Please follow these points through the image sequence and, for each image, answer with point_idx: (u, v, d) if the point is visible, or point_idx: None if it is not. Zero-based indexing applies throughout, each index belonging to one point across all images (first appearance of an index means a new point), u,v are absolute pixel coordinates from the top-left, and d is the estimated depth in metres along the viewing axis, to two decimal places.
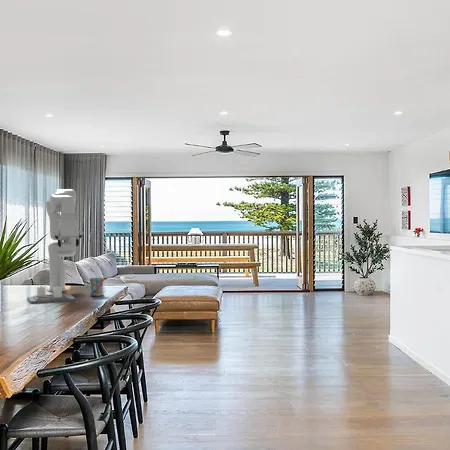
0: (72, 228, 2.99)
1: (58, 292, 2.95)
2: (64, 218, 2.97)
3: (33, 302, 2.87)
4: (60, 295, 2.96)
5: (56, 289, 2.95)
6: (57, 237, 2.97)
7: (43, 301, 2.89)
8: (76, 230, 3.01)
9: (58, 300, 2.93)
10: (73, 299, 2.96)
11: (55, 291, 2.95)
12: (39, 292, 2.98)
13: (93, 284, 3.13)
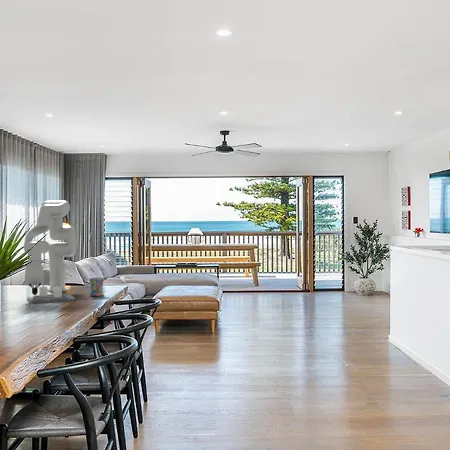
0: (38, 274, 2.98)
1: (58, 292, 2.95)
2: (30, 264, 2.96)
3: (33, 302, 2.87)
4: (60, 295, 2.96)
5: (56, 289, 2.95)
6: None
7: (43, 301, 2.89)
8: (42, 276, 2.99)
9: (58, 300, 2.93)
10: (73, 299, 2.96)
11: (55, 291, 2.95)
12: (41, 292, 2.99)
13: (93, 284, 3.13)
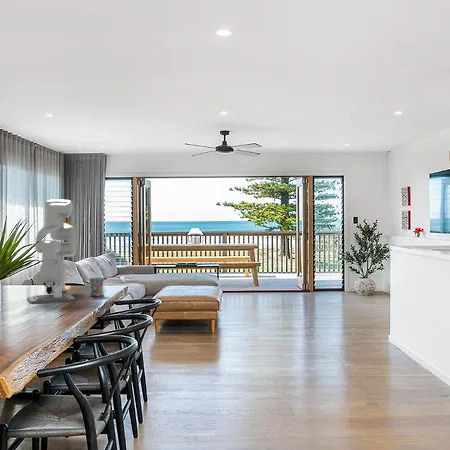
0: (53, 273, 3.01)
1: (58, 292, 2.95)
2: (44, 264, 2.99)
3: (33, 302, 2.87)
4: (60, 295, 2.96)
5: (56, 289, 2.95)
6: None
7: (43, 301, 2.89)
8: (57, 275, 3.03)
9: (58, 300, 2.93)
10: (73, 299, 2.96)
11: (55, 291, 2.95)
12: None
13: (93, 284, 3.13)
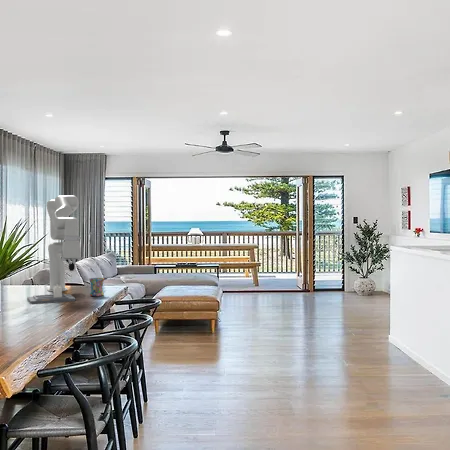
0: (75, 250, 2.99)
1: (58, 292, 2.95)
2: (67, 240, 2.97)
3: (33, 302, 2.87)
4: (60, 295, 2.96)
5: (56, 289, 2.95)
6: (67, 262, 2.99)
7: (43, 301, 2.89)
8: (79, 252, 3.01)
9: (58, 300, 2.93)
10: (73, 299, 2.96)
11: (55, 291, 2.95)
12: None
13: (93, 284, 3.13)
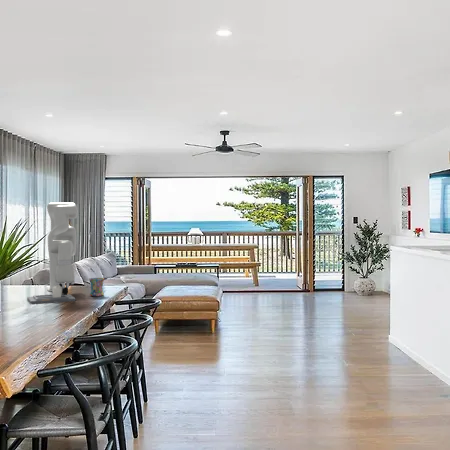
0: (69, 274, 2.98)
1: (57, 292, 2.95)
2: (61, 264, 2.95)
3: (33, 302, 2.87)
4: (59, 295, 2.96)
5: (55, 289, 2.95)
6: (61, 286, 2.97)
7: (43, 301, 2.89)
8: (73, 276, 2.99)
9: (58, 300, 2.93)
10: (73, 299, 2.96)
11: (54, 291, 2.95)
12: None
13: (93, 284, 3.13)
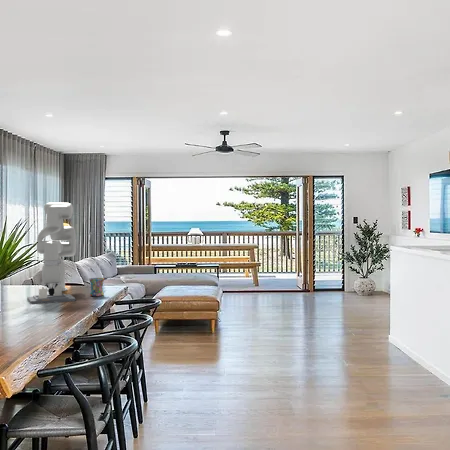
0: (55, 275, 2.94)
1: (43, 293, 2.92)
2: (47, 265, 2.92)
3: (33, 302, 2.87)
4: (45, 296, 2.92)
5: (41, 290, 2.91)
6: (47, 287, 2.94)
7: (43, 301, 2.89)
8: (59, 276, 2.96)
9: (58, 300, 2.93)
10: (73, 299, 2.96)
11: (40, 292, 2.91)
12: (56, 291, 3.03)
13: (93, 284, 3.13)
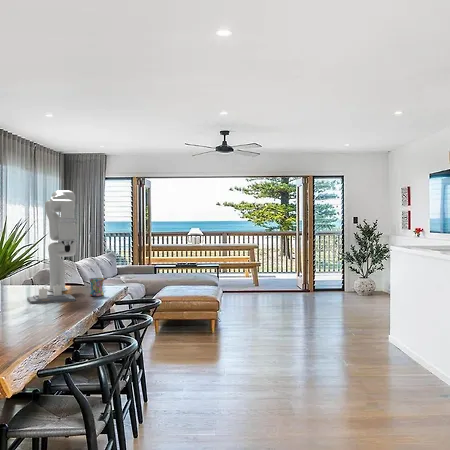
0: (71, 232, 3.05)
1: (43, 293, 2.92)
2: (63, 222, 3.03)
3: (33, 302, 2.87)
4: (45, 296, 2.92)
5: (41, 290, 2.91)
6: (63, 244, 3.05)
7: (43, 301, 2.89)
8: (75, 234, 3.06)
9: (58, 300, 2.93)
10: (73, 299, 2.96)
11: (40, 292, 2.91)
12: (56, 291, 3.03)
13: (93, 284, 3.13)
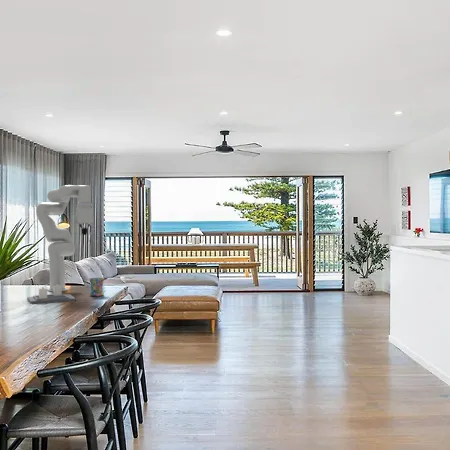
0: (88, 215, 3.20)
1: (43, 293, 2.92)
2: (80, 206, 3.18)
3: (33, 302, 2.87)
4: (45, 296, 2.92)
5: (41, 290, 2.91)
6: None
7: (43, 301, 2.89)
8: (92, 217, 3.21)
9: (58, 300, 2.93)
10: (73, 299, 2.96)
11: (40, 292, 2.91)
12: (56, 291, 3.03)
13: (93, 284, 3.13)
